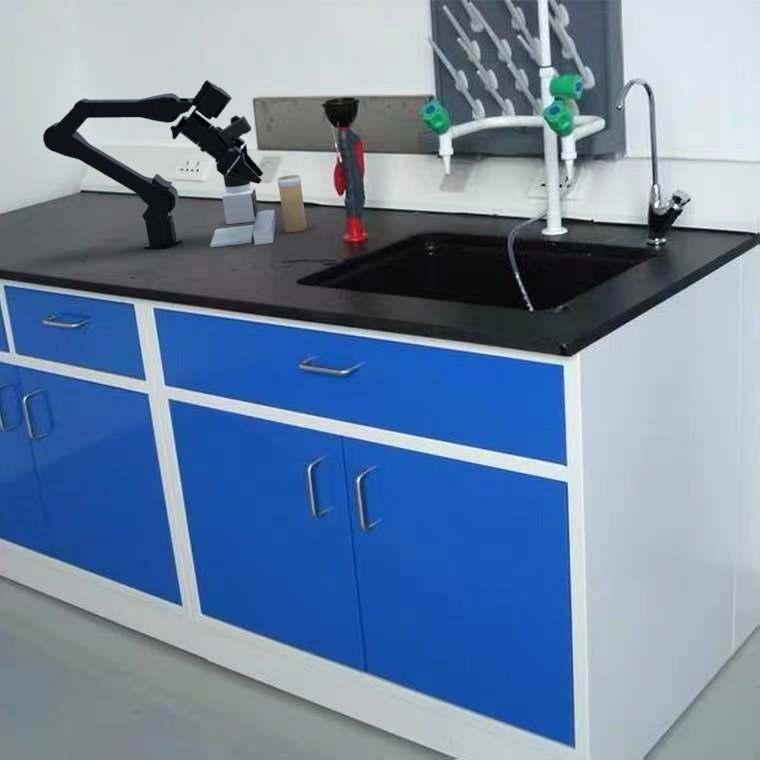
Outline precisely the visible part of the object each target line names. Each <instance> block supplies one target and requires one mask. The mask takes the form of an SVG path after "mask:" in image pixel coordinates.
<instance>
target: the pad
mask: <svg viewBox="0 0 760 760" xmlns="http://www.w3.org/2000/svg"><path fill="white" fill-rule="evenodd" d="M253 229H254V224H250V225H248V224H247V225H239V226H232V227H223V228H217V229H215V230H214V233H213V236H212V238H211V242H210V245H209V246H210V248H217V247H218V248H219V247H224V246H225V247H227V246H233V245H241V244H251V243H252V239H253V237H254V236H253Z"/></svg>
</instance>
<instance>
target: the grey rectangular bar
mask: <svg viewBox="0 0 760 760" xmlns="http://www.w3.org/2000/svg"><path fill="white" fill-rule="evenodd" d="M276 223H277V222H276V214H275V209H267V208H265V209H264V210H261V211H259V210H258V212H257V215H256V220H255V222H254V224H253V225H254V229H253V236H252V237H253V241H254V246H257V245H259V246H260V245H265V244H273V243H274V237H275V232H276V231H275V230H276V225H277V224H276Z"/></svg>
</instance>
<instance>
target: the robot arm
mask: <svg viewBox="0 0 760 760" xmlns="http://www.w3.org/2000/svg"><path fill="white" fill-rule="evenodd" d="M231 100H232V96H231V95H230V94H229V93H228V92H227V91H225V90H224V89H223V88H221V87H220V86H219V87H218V86H217V85H216V84H214V83H212V81H211V82H210V80H208V79H206V80H205V81H204V82H203V83H202V85H201V87H200V89H199V91H198V92H197V94H196V95H195V96H194V97H191V98H190V97H188V98H187V97H179V96H178V95H177V94H174V93H171V92H169V93H163V94H158V95H152V96H149V97H144V98H140V99H139V98H138V99H137V98H136V99H135V98H134V99H133V98H131V99H130V98H129V99H126V98H125V99H123V98H122V99H115V98H114V99H88V98H82V99H79V100H78V101H77V102H75V104H74V105H73V107H72V108H71V109H70V110H69V111H68V112H67V114H65V115H64V117H62V119H61V120H60V121H56V122H55V123H53V124H51V125H50V126H49V127H47V128H46V129H45V130H44V132H43V135H42V140H43V144H44V146H45V148H46V149H48V150H49V151H51V152H54V153H56V154H59V155H61V156H64V157H68V158H71V159H75V160H79V161H81V162H83V163H84V164H86V165H87V166H89V167H91V168H93V169H94V170H96V171H98V172H99V173H101V174H103V175H104V176H106V177H108V178H109V179H111V180H113V181H114V182H117V183H119V184H120V185H122V186H123V187H125V188H127V189H128V190H130V191H132V192H134V194H136V195H137V196H138V197H139V199H141V200H142V202H143V203H145V204H146V205H147V207H146V208H145V210H144V212H143V214H142V216H141V217H142V218H143V220H144V222H145V223H144V224H145V228H146V235H147V241H148V243H147V244H146V245H144V246H143V248H144V249H168V248H169V249H170V247H172V246H175V245H177V244H180V243H181V242H183V240H182V239H181V238H177V235H176V234H177V233H176V229H175V223H174V222H175V221H174V219H173V215H172V214H171V213H172V211H173V210H174V209H175V207H176V205H177V204H178V201H179V193H178V190H177V188H176V187H175V186H174V185H172V184H173V182H172V181H169V180H166V179H164V178H163V176H161V175H160V174H158V173H155V175H154V176H153V178H152V177H149V176H145V175H143V174H142V173H140V172H138V171H136V170H135V169H133V168H131V167H130V166H128V165H126V164H124V163H123V162H122V161H119V160H117V159H116V158H114V157H113V156H111V155H109V154H107V153H106V152H104V151H102V150H100V149H99V148H97V147H95V145H93V144H91V143H89V142H88V141H87V140H86V139H85V138H84V137H83V135H81V133H80V132H78V130H79V129H80V128H81V126H82V125H83V124H84V123H85V122H86V121H87V119H92V118H93V119H99V118H100V119H102V118H105V119H107V118H109V119H110V118H111V119H112V118H115V119H116V118H117V119H119V118H142V119H146V120H148V121H149V120H150V121H153V122H160V123H166V124H167V123H168V124H169V123H173V122H175V121H176V120H177V119H178V118H180V116H181V115H182V114H186V113H189V111H190V110H191V108H192V107H195V108H194V109H193V110H192V112H191V113H190V115H189V116H187V115H182V117H181V118H180V119H179V121H178V122H177V123H176V125H171V126H170V127H169V129H170V131H171V135H172V137H171V138H172V139H173V140H176V139H177V137H178V136H179V135H180V134H181V135H182V136H184V137H185V138H186V139H187V140H189V141H191V142H192V143H193V144H195V145H196V146H197V147H198V148H200V149H199V150H200V151H201V152H202V153H206V154H207V155H209V156H210V157H211V158H213V159H214V160H215V163H216V165H215V166H216V171H217V172H218V173H219V174H221V175H222V176H223V177H224V175H225V174H226V173H227V172H228V173H227V175H226V176H230V177H234V178H238V179H242V180H246V181H250V183H254V184H257V185H259V184H260V183H261V182H262V179H261V177H262V176H263V174H264V172H263V171H262V170H261V168H260V167H259V166H258V165H257V163H256V162H255V161H254V159H252V158H251V156H250V155H249V154H248V145H247V144H246V141H245V140H244V139H242V138H241V136H243V135H246V134H248V133H249V132H250V131H252V127H251V125H250V123H249V121H248V120H247V118H246V117H245V116H241V117H240V116H238V115H237V114H236V115H234V116H233V117H231V118H230V124H228V125H227V126H226V127H225V128H222V127H221V126H215V125H213V124H212V123H211V122H209V121H208V120H211V119H212V118H213V119H218V118H219V116H220V115H221V114H222V112H223V111H224V109H225V108H226V107H227V106H228V104H229V103H230V102H231Z"/></svg>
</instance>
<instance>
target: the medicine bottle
mask: <svg viewBox="0 0 760 760" xmlns="http://www.w3.org/2000/svg"><path fill="white" fill-rule="evenodd" d="M227 173H228V171H227ZM227 173H226V174H225V175H224V176H223V182H224V188H225V191H224V192H223V194H222V196H221V197H222V204H223V210H224V217H225V224H226V225H235V224H236V225H237V224H244V223H245V224H246V223H247V224H248V223H253V222H254V223H255V220H256V215H257V212H259V208H258V207H259V206H258V201H257V194H256V193H257V192H256V188H255V186H251V182H250V181H246V180H242V179H238V178H234V177H230V176H226V175H227Z"/></svg>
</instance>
